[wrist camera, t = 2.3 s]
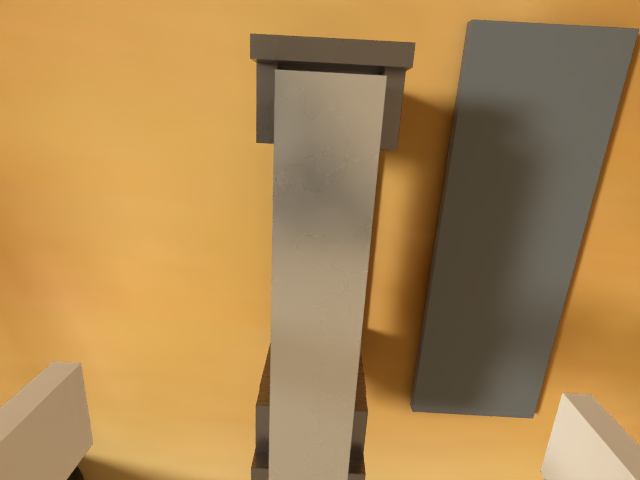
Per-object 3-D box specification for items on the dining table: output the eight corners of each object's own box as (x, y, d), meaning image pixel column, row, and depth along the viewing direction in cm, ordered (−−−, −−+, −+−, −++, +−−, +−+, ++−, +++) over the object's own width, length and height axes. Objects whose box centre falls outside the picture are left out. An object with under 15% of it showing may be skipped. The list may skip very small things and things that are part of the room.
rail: (288, 80, 17) (274, 69, 12) (371, 85, 17) (386, 75, 12) (279, 423, 22) (268, 498, 18) (342, 427, 22) (345, 503, 18)
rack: (279, 61, 23) (247, 27, 14) (382, 66, 23) (418, 36, 14) (273, 368, 29) (249, 482, 20) (354, 373, 29) (365, 489, 20)
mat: (467, 22, 22) (472, 19, 21) (628, 31, 22) (639, 28, 21) (410, 403, 30) (412, 411, 29) (527, 410, 30) (533, 418, 29)
